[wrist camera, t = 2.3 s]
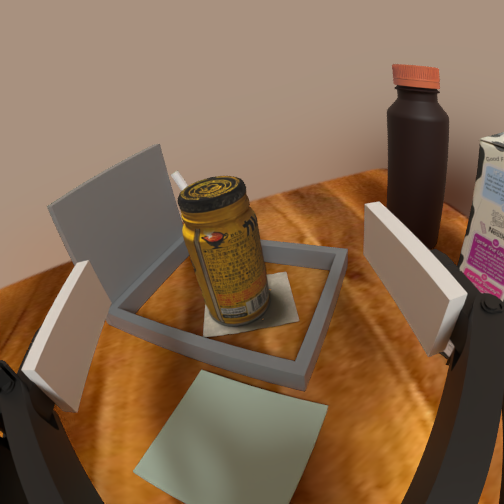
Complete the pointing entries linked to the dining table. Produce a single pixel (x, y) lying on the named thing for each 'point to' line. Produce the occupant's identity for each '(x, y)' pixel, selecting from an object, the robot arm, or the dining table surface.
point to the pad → (233, 444)
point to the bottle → (417, 152)
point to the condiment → (231, 260)
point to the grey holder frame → (175, 263)
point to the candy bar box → (486, 224)
